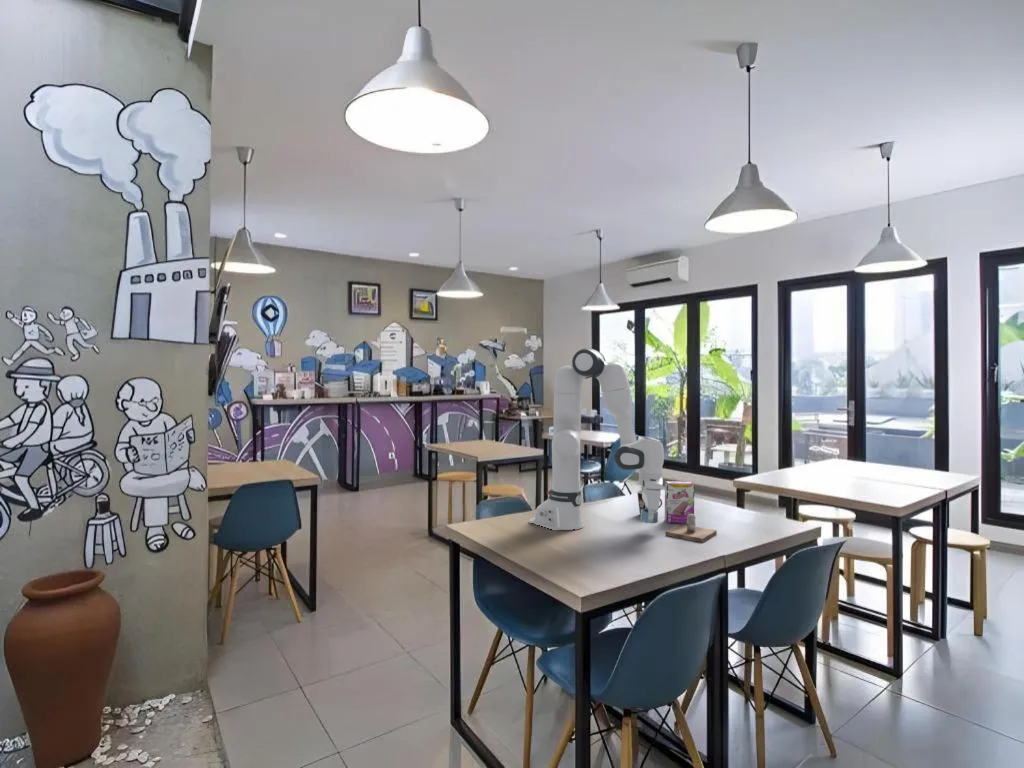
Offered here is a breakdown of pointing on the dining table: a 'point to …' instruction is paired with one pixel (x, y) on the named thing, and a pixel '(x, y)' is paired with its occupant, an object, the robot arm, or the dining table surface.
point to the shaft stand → (691, 531)
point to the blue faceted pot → (645, 516)
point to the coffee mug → (641, 502)
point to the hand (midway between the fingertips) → (649, 516)
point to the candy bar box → (678, 501)
